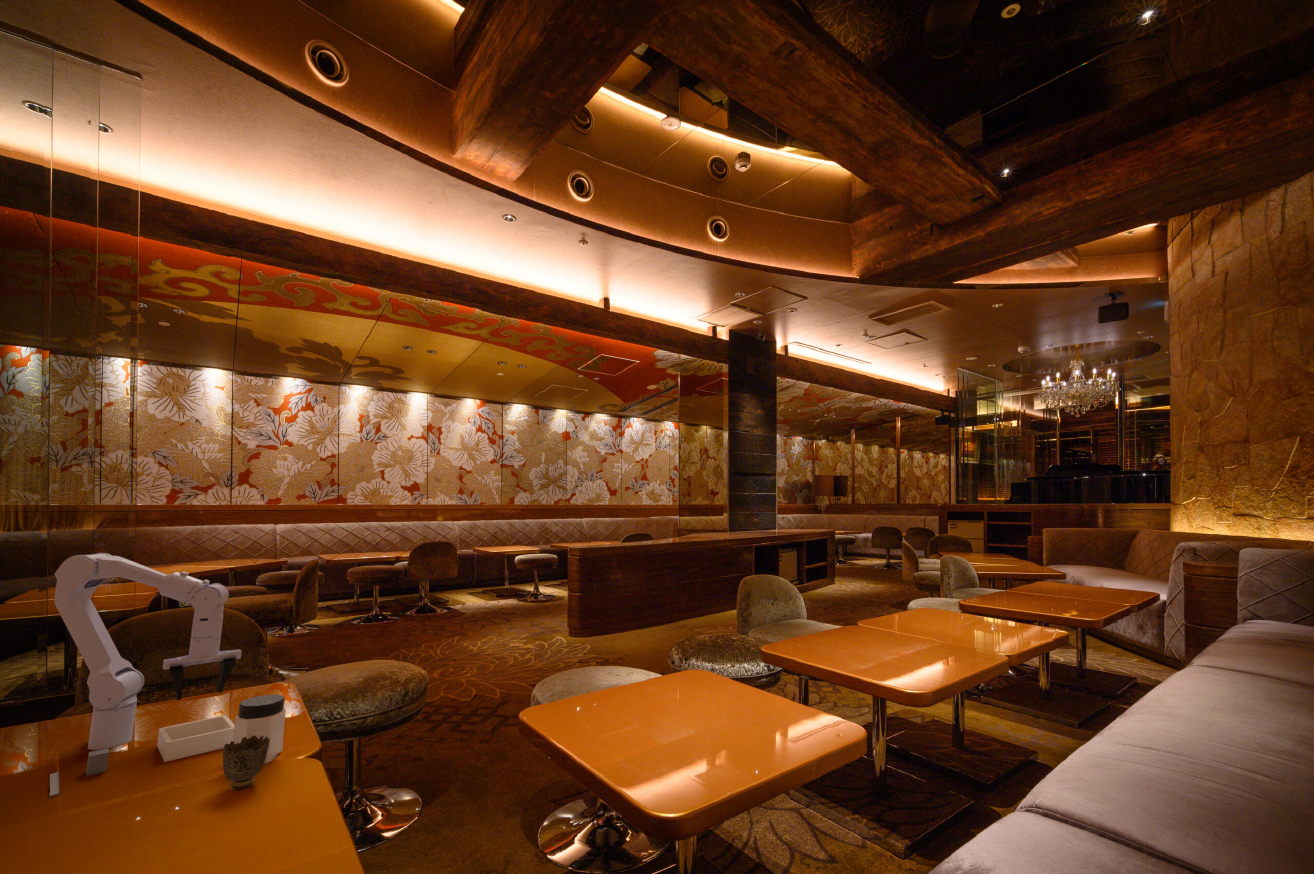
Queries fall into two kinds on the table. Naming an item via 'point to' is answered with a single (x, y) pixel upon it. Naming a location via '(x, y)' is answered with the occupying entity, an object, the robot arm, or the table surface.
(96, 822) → the table surface
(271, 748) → the jar
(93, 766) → the lid
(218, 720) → the box
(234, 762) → the cup
